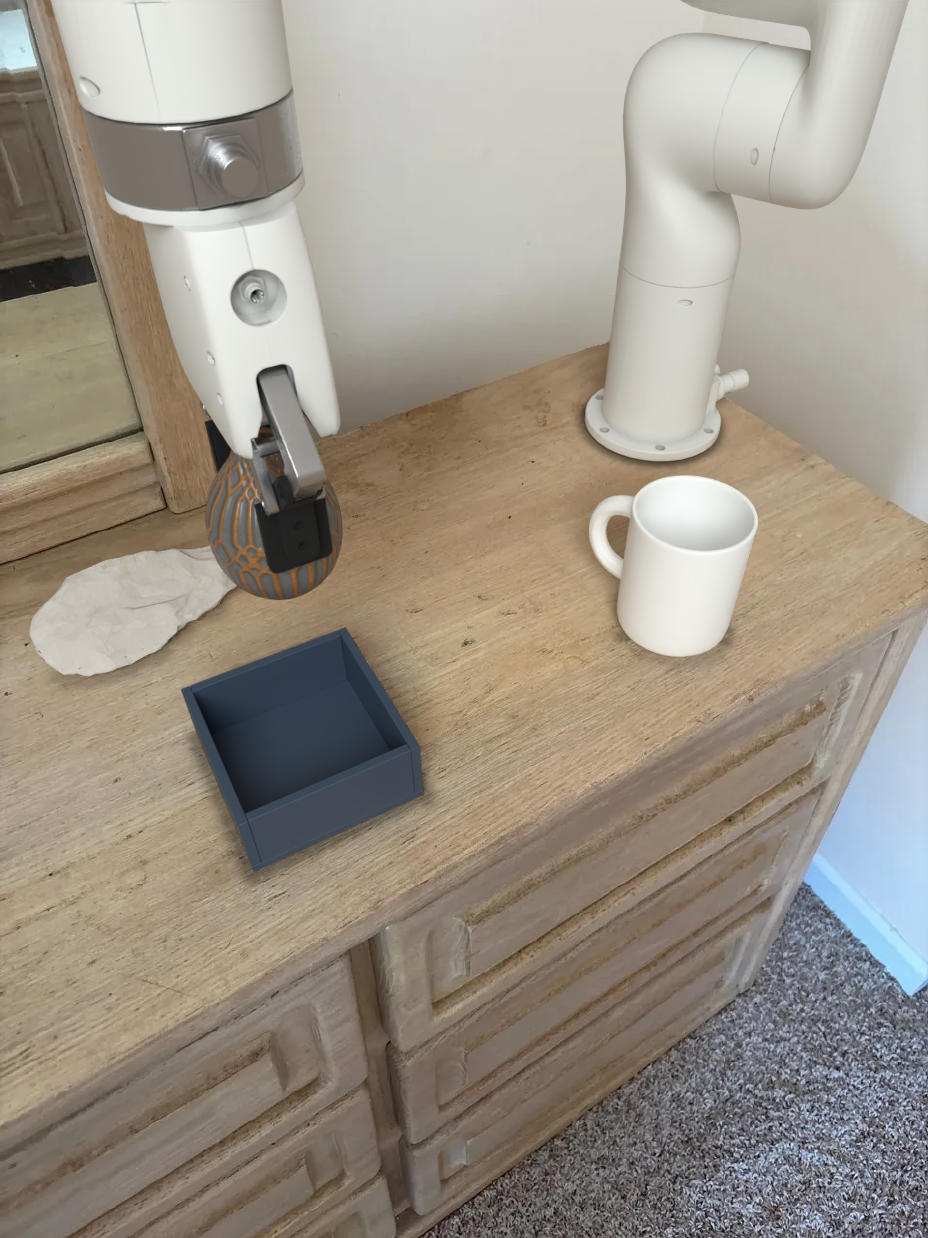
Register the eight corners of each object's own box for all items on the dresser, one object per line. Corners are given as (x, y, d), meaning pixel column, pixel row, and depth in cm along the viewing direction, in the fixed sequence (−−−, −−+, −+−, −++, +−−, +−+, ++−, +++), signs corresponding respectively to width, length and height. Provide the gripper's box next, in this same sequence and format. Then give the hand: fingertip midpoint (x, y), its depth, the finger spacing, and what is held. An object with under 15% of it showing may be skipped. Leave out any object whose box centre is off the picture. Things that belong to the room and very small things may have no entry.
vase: (238, 635, 46) (201, 499, 40) (209, 554, 51) (171, 420, 44) (366, 597, 48) (349, 461, 42) (327, 522, 53) (307, 389, 46)
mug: (553, 601, 69) (562, 493, 62) (615, 547, 73) (631, 440, 66) (689, 679, 63) (717, 571, 56) (748, 616, 68) (781, 507, 60)
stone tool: (70, 711, 64) (257, 616, 70) (61, 694, 61) (257, 596, 67) (16, 616, 66) (202, 532, 72) (5, 596, 63) (199, 509, 69)
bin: (353, 676, 64) (345, 626, 60) (423, 795, 57) (420, 746, 53) (198, 738, 60) (180, 688, 56) (253, 872, 53) (237, 826, 49)
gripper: (387, 207, 30) (413, 597, 42) (224, 74, 40) (284, 416, 53) (161, 255, 27) (261, 654, 40) (51, 100, 38) (158, 452, 51)
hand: (273, 516), depth 46 cm, fingers closed on vase, 6 cm apart
